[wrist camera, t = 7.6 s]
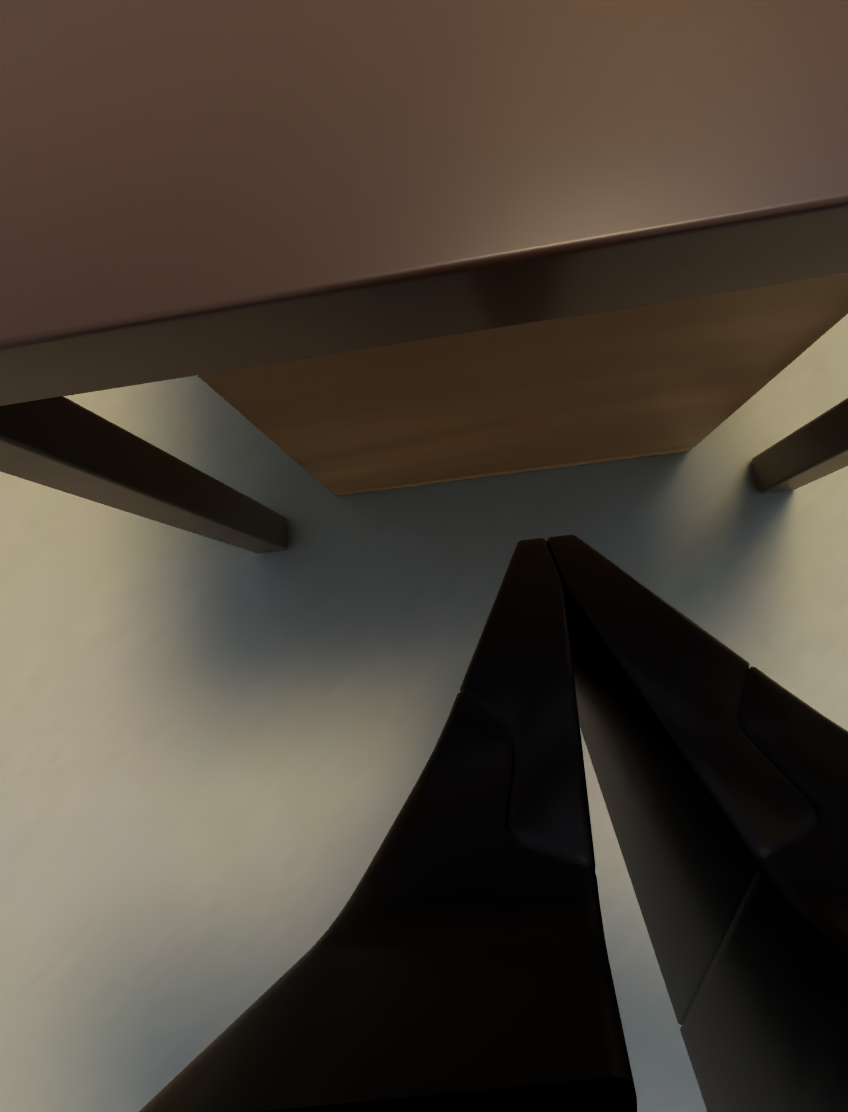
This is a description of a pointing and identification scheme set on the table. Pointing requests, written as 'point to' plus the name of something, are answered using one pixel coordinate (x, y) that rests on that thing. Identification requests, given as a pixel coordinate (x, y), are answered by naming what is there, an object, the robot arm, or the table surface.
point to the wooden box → (533, 389)
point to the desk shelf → (385, 196)
